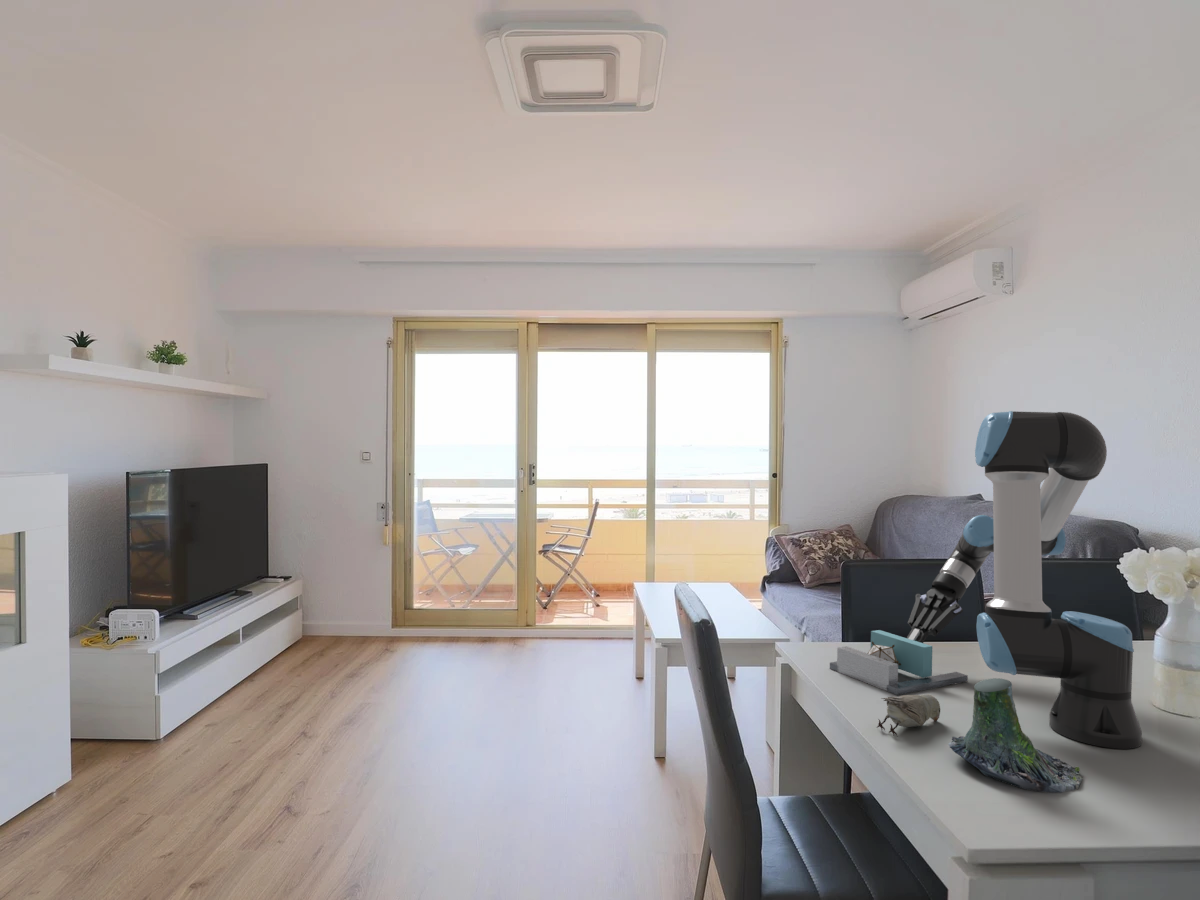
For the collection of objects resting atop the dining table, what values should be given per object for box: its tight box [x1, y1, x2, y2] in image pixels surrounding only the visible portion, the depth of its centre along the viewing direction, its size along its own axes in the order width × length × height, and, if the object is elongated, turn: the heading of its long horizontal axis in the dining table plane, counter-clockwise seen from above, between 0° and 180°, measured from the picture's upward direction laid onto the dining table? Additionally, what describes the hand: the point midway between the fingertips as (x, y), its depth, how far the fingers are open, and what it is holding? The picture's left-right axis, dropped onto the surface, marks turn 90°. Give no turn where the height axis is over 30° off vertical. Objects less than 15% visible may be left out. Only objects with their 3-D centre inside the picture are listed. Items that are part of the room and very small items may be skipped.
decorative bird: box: [876, 693, 941, 737], centre depth 142 cm, size 5×16×8 cm, turn 119°
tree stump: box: [947, 677, 1083, 794], centre depth 124 cm, size 18×20×18 cm
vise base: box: [829, 646, 968, 696], centre depth 176 cm, size 21×24×6 cm
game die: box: [866, 642, 901, 665], centre depth 174 cm, size 9×8×10 cm
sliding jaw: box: [870, 629, 933, 678], centre depth 176 cm, size 16×3×7 cm, turn 26°
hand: (906, 652), depth 178 cm, fingers closed
